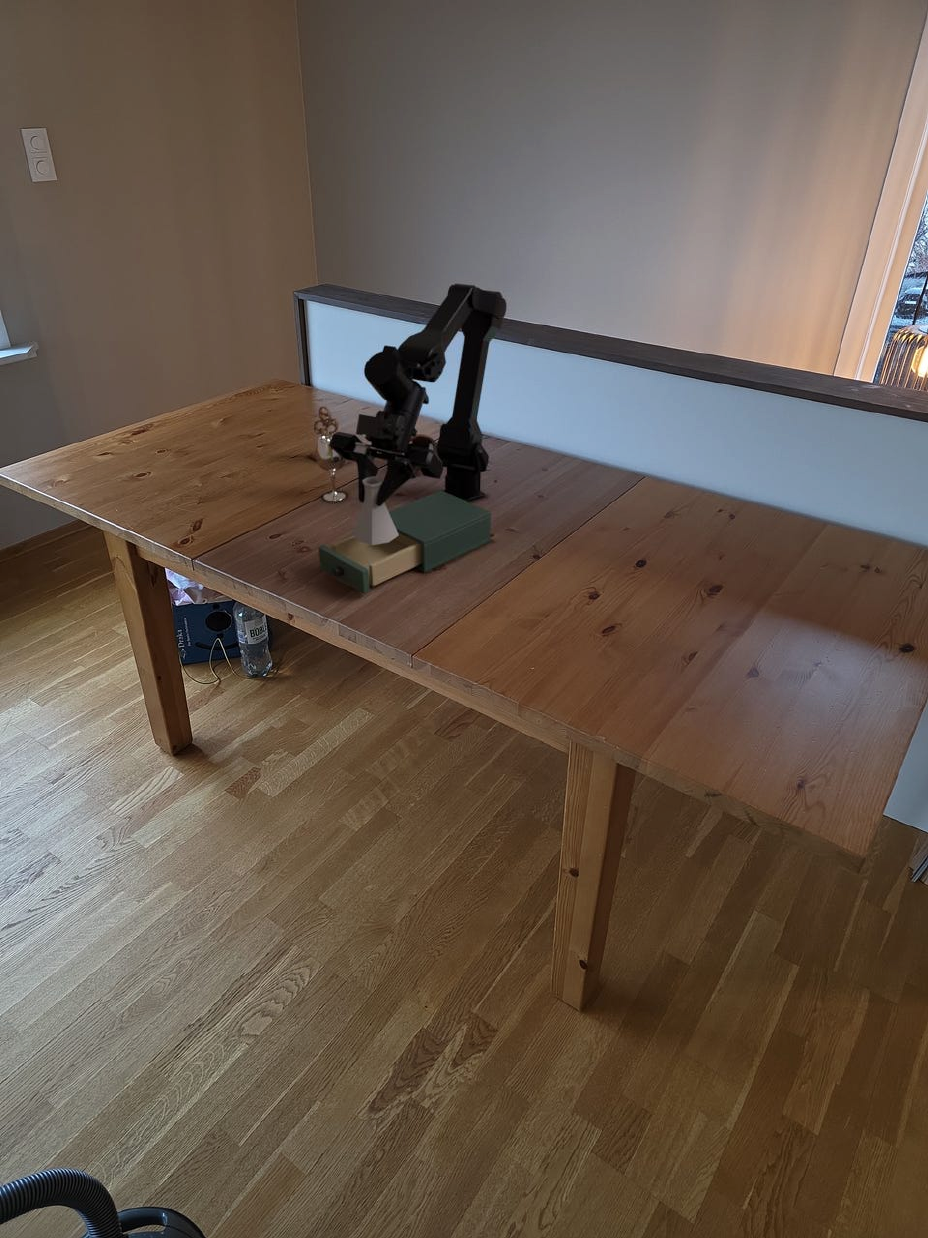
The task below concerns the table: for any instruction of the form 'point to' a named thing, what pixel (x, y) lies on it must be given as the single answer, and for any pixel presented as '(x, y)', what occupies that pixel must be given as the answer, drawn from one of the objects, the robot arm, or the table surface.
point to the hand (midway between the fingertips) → (369, 503)
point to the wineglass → (329, 465)
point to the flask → (374, 516)
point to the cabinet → (442, 527)
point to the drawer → (369, 560)
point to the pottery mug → (422, 443)
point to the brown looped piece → (326, 424)
